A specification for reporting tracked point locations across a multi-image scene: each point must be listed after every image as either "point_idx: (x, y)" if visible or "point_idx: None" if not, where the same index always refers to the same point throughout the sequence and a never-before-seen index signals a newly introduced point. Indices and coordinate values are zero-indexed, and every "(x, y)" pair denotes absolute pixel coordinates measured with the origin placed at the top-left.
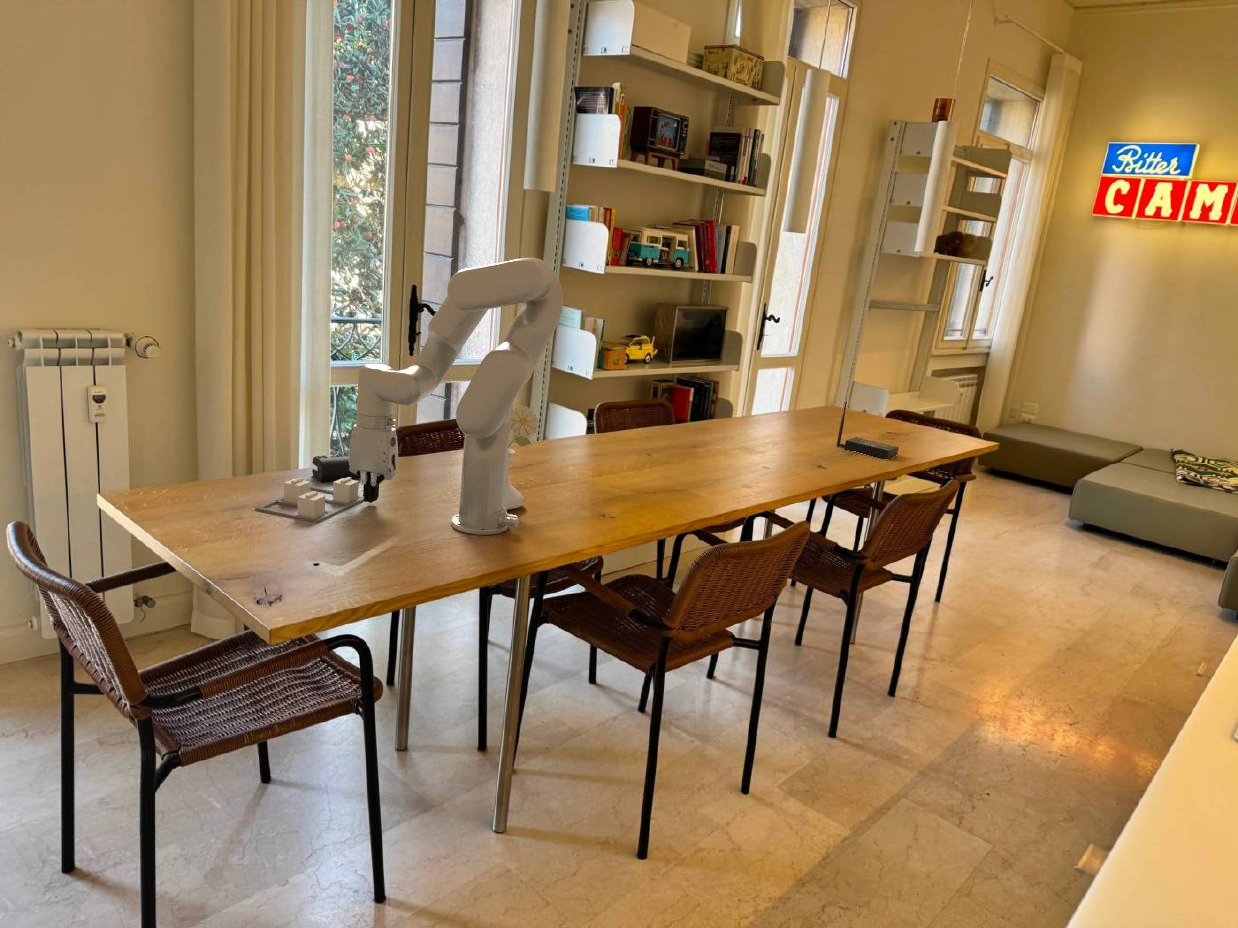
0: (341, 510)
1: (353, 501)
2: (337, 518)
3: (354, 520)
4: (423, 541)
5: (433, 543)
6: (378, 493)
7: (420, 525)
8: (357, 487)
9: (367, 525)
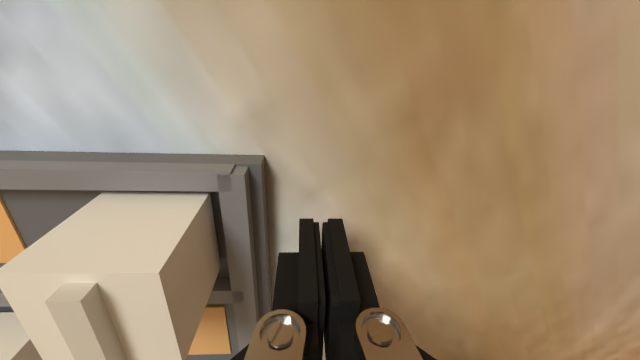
0: None
1: (231, 259)
2: None
3: None
4: (590, 351)
5: (622, 349)
6: (366, 267)
7: (569, 253)
8: (182, 249)
9: None
